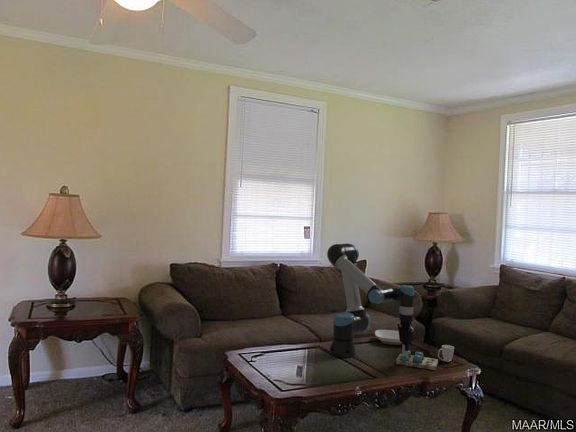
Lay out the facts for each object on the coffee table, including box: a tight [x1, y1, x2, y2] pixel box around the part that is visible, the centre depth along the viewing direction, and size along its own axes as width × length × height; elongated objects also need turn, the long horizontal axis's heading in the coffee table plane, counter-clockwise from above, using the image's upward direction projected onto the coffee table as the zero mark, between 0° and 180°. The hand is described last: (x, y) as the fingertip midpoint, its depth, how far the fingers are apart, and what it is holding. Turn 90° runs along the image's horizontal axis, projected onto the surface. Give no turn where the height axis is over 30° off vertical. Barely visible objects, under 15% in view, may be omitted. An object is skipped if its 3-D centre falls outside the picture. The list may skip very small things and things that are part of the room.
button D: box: [414, 351, 424, 359], centre depth 266 cm, size 4×4×3 cm
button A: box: [400, 355, 409, 362], centre depth 262 cm, size 4×4×3 cm
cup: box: [437, 344, 455, 363], centre depth 270 cm, size 7×10×8 cm
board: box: [395, 353, 439, 371], centre depth 263 cm, size 21×14×2 cm, turn 67°
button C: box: [413, 354, 422, 363], centre depth 260 cm, size 4×4×3 cm
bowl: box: [374, 329, 402, 346], centre depth 305 cm, size 22×22×5 cm
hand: (405, 355), depth 262 cm, fingers closed
